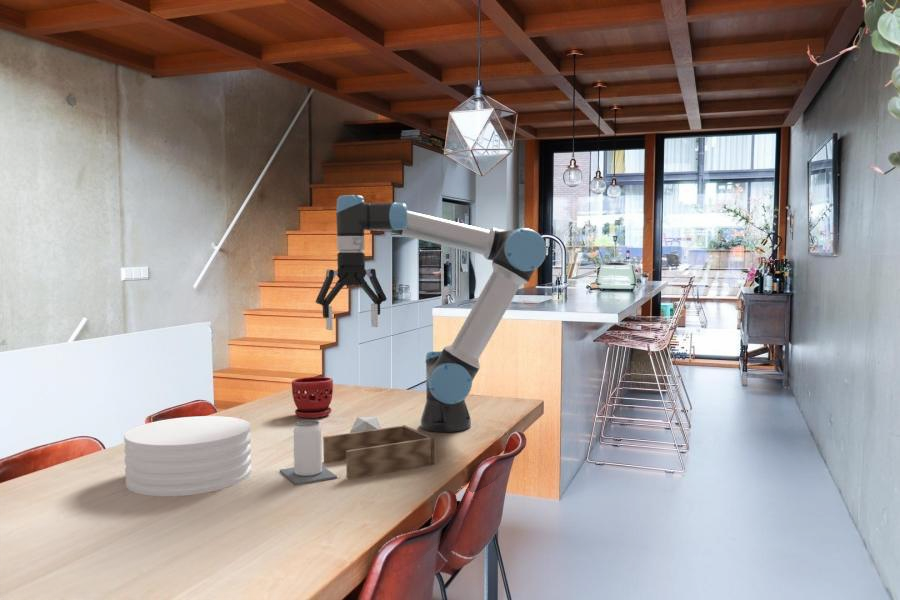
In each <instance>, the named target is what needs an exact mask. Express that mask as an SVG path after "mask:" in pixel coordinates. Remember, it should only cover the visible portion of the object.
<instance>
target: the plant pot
mask: <svg viewBox="0 0 900 600" xmlns="http://www.w3.org/2000/svg"><path fill="white" fill-rule="evenodd" d="M333 381H334V380H333V378H331V377H327V376H309V377H300V378H296V379H292V380H291V392H292V398H293V399H292V400H293V402H294V404H295V407H296V408H297V409H294V411H295V415H296V416H298V417H300V418H305V419H316V418H318V419H319V417H321V418H323V417H326V416H328V415H329V414H331V412H332V407H330V405H331V402H332V400H333V393H334V382H333ZM305 392H306V393H305Z"/></svg>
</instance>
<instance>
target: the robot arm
mask: <svg viewBox="0 0 900 600" xmlns="http://www.w3.org/2000/svg"><path fill="white" fill-rule="evenodd" d="M335 213H336V214H335V215H336V250H337V251H338V253H337V255H336V257H337V258H336V259H337V261H336V262H337V270H333V269H326V273H325V274H326V275H325V279H324V281H323V284H322V285H321V287H320V288H321V289H320V290H319V293H318V295H317V296H316V299H315V303H316V304H318V305H321V306H322V317H323V318H325V329H326V330H328V331H333V306H332V305H331V303H332V302H333V301H334V299H335V298H336V297H337V295H338V294H339V292H340V291H341V290H342V289H343V287H346V286H350V287H351V286H359V287H360V288H361V289H362V290H363V291H364V292H365V294H366V295H367V296H368V297H369V298H370V299H371V301H372V302H373V303H370V319H371V321H370V323H371V324H370V327H371V328H372V327H373V328H378V327H379V326H378V325H379V321H378V319H379V318H378V317H379V315H381V304H383V302H385V301H387V297H386V294H385V292H384V290H383V288H382V286H381V284H380V282H379V279H378V277H377V271H376V269H375V268H368V269H366V268H365V267H366V262H365V259H366V254H365V252H363V251H365V231H382V232H385V233H391V234H396V235H400V236H405V237H408V238H411V239H416V240H421V241H424V242H429V243H432V244H433V243H434V244H437V245H441V246H446V247H449V248H454V249H459V250H463V251H467V252H469V253H474V254H479V255H483V257H484V258H485V260H487V261H488V260H489V261H492V262H491V266H492V269H493V270H492V272H491V275H490V276H489V277H488V280H487V282H486V283H485V285H484V286H483V289H482V290H481V292H480V294H479V295H478V297H477V300H476V301H475V302H474V305H473V306H472V308H471V310H470V312H469V313H468V316H467V317H466V319H465V321H464V323H463V324H462V326H461V328H460V329H459V331H458V333H457V334H456V336H455V338H454V340H453V342H452V344H450V345H447V346H445V347H443V349H442V351H439V350H437V351H428V352H427V353H426V357H425V367H426V368H425V369H426V370H425V371H426V373H425V374H426V375H425V376H426V377H425V379H426V381H425V382H426V383H425V385H426V388H425V389H426V390H425V391H426V394H425V395H426V399H425V400H426V402H425V405H424V409H423V412H422V414H421V418H420V428H421V429H423V430H425V431H429V432H436V433H437V432H438V433H454V432H461V431H465V430H469V428H471V425H472V424H471V423H472V421H471V420H472V419H471V415H470V413H469V410H468V406H467V404H466V398H467V397H468V395H469V394H470V392H471V391H472V390H471V389H472V386H473V381H474V379H475V378H476V375H477V374H478V372H479V370H480V368H481V366H480V362H479V359H480V357H481V355H482V354H483V352H484V350H485V348H486V346H488V343H489V341H490V340H491V339H492V336H493V335H494V333H495V331H496V329H497V327H498V325H499V324H500V322H501V321H502V319H503V317H504V315H505V313H506V312H507V309H508V308H509V306H510V304H511V302H512V301H513V299H514V298H515V295H516V293H517V292H518V291H519V288H520V287H521V286H522V285H526V284H529V281H530V280H531V278H532V277H533V275H534V273H535V271H536V270H537V269H538V268H539V267H541V265H542V264H543V262H544V261H545V259H546V256H547V244H546V242H545V240H544V237H543V236H542V235H541V234H540V233H538V232H537V231H536V230H534V229H531V228H528V227H520V228H519V227H518V228H517V229H501V228H497V227H492V228H490V229H485V228H482V227H477V226H474V225H469V224H466V223H460V222H457V221H453V220H450V219H449V220H448V219H444V218H440V217H436V216H432V215H429V214H423V213H419V212H415V211H413V210H412V211H410V210H408V206H407V204H406V203H405V202H404V203H403V202H396V201H395V202H394V201H393V202H376V203H375V202H374V203H373V202H365V198H364V196H362V195H359V194H357V195H355V194H348V195H347V194H345V195H340V196H339V197H338V198H337V199H336V212H335ZM336 276H337V278H338V280H337V281H336V283H335V285H334V286H333V287H332V288H331V290H330V287H331V286H332V283H333V281H334V279H335V278H336ZM366 276H367V277H368V278H369V281H370V283H371V286H372V288H373V289H372V288H371V287H370V285H369V284H368V282H367V281H366V280H365V277H366ZM329 290H330V291H329ZM328 292H329V293H328Z"/></svg>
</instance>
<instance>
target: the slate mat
mask: <svg viewBox="0 0 900 600" xmlns="http://www.w3.org/2000/svg"><path fill="white" fill-rule="evenodd" d="M279 473H280V474H282V475H283V476H284V477H285V478H286V479H288V481H290V482H291V483H292V484H293V485H295V486H299V485H300V486H301V485H305V484H310V483H311V484H312V483H317V482H318V483H319V482H322V481H328V480H334V479H338V476H337V474H335V473H333V472H332V471H331V470H329V469H328V468H326V467H325V466H324V465H322V471H321V473H320V474H318V475H314V476H298V475H296V473H295V470H294V467H288V468H282V469H279Z"/></svg>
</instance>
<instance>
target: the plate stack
mask: <svg viewBox="0 0 900 600" xmlns="http://www.w3.org/2000/svg"><path fill="white" fill-rule="evenodd" d="M251 438H252V436H251V423H250V422H249V421H247V420H245V419H241V418H237V417H231V416H223V415H222V416H221V415H201V416H200V415H199V416H198V415H197V416H196V415H195V416H184V417H175V418H168V419H162V420H157V421H153V422H148V423H145V424H141V425H137V426H135V427H133V428H131V429H129V430H127V431H126V432H125V433H124V435H123V441H124V444H125V445H124V455H125V456H124V464H125V468H124V469H125V470H124V471H125V473H124V474H125V477H126V478H125V486H126V488H127V489H128V490H129V491H131V492H133V493H136V494H139V495H145V496H153V497H154V496H155V497H180V496H191V495H199V494H205V493H210V492H211V493H212V492H215V491H219V490H223V489H227V488H230V487H232V486H235V485H238V484H239V483H240V484H241V482H243V481H245V480H246V479H249V477H250V476H251V474H252V465H251V464H252V455H251V452H252V445H251V442H252V439H251Z"/></svg>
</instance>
